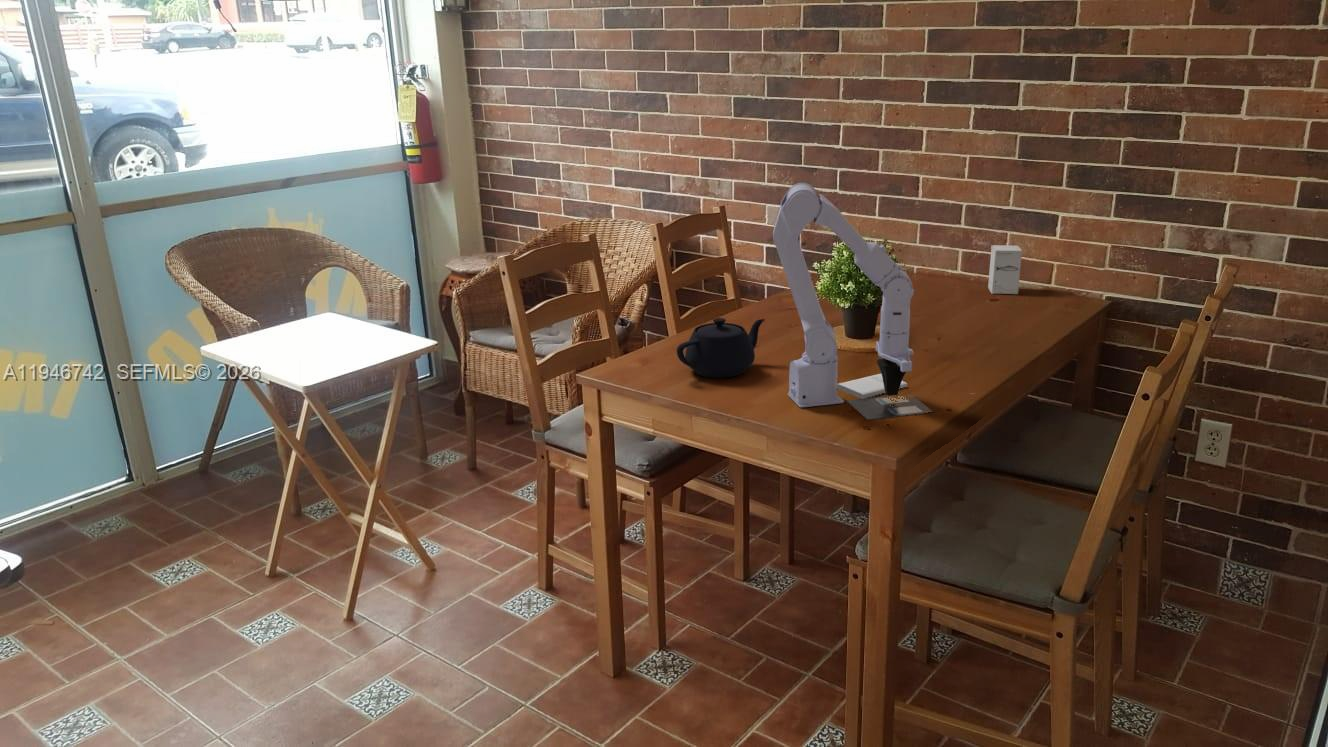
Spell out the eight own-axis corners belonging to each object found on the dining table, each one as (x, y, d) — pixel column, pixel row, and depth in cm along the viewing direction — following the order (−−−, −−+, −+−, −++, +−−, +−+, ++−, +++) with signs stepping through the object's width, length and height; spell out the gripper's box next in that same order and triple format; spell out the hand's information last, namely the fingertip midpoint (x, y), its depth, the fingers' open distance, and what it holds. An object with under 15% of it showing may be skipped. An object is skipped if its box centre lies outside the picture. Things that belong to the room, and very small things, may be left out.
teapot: (700, 391, 218) (699, 336, 214) (657, 373, 230) (656, 321, 226) (787, 367, 232) (788, 314, 228) (742, 351, 244) (742, 301, 240)
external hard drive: (836, 390, 218) (880, 379, 224) (862, 401, 211) (907, 389, 217) (836, 383, 217) (881, 372, 223) (862, 394, 210) (907, 382, 216)
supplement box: (991, 294, 287) (994, 250, 283) (987, 287, 294) (991, 244, 290) (1018, 294, 285) (1022, 250, 281) (1014, 288, 292) (1018, 244, 288)
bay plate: (867, 419, 200) (867, 419, 200) (846, 400, 210) (846, 400, 210) (933, 412, 202) (933, 411, 202) (909, 394, 213) (909, 393, 213)
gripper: (928, 339, 199) (924, 404, 203) (899, 319, 212) (896, 381, 217) (893, 341, 198) (890, 407, 202) (867, 321, 211) (864, 383, 216)
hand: (891, 394), depth 209 cm, fingers closed
